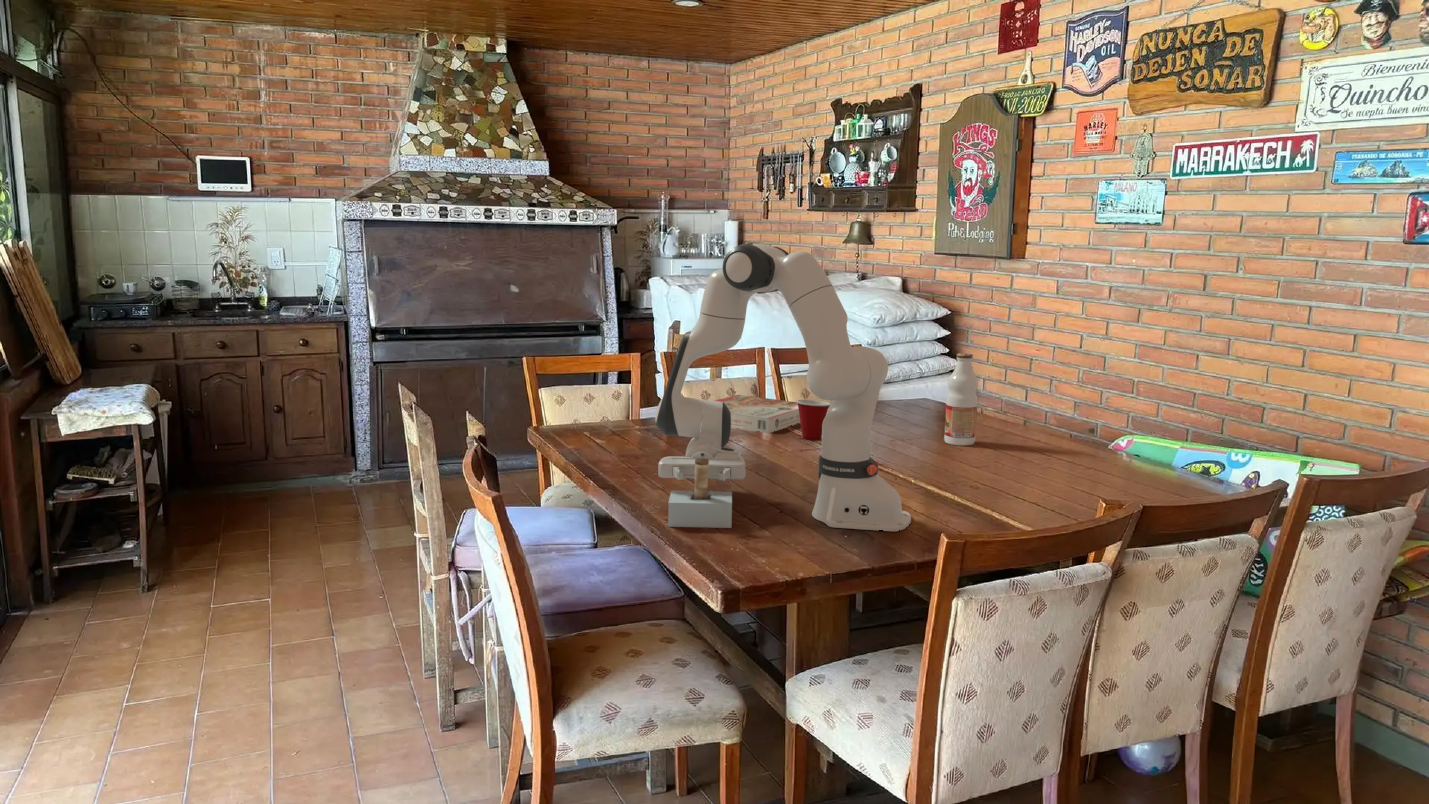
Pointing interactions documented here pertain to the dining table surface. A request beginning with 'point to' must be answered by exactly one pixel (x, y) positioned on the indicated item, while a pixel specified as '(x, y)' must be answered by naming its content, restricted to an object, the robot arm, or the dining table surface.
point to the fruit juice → (961, 403)
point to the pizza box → (761, 413)
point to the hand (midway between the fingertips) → (701, 476)
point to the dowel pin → (701, 479)
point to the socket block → (700, 510)
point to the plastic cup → (812, 417)
